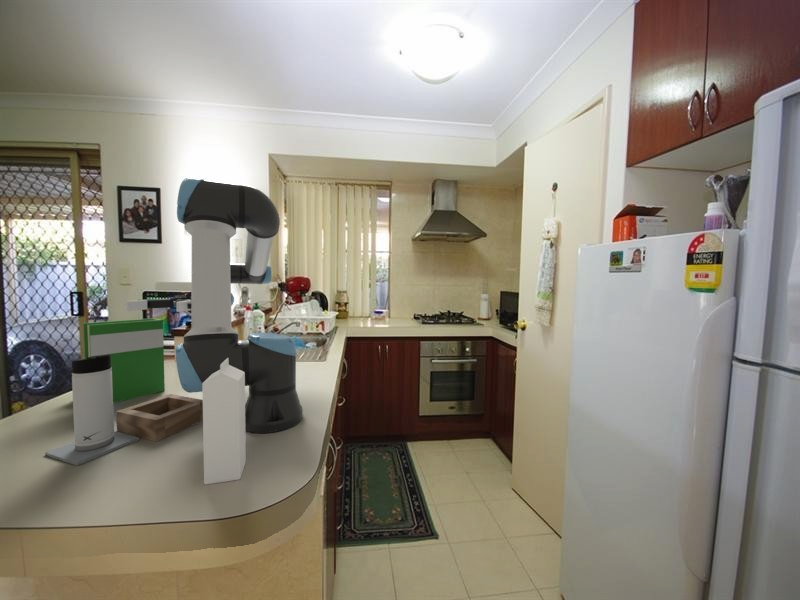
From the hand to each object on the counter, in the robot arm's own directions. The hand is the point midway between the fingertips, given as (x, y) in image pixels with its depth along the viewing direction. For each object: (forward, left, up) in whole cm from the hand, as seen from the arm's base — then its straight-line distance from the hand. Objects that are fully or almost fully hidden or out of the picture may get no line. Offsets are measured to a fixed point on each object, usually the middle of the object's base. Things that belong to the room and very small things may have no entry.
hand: (152, 306), depth 85 cm
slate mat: (-5, +16, -30) cm, 34 cm away
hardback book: (+24, -7, -30) cm, 39 cm away
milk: (-40, +13, -30) cm, 52 cm away
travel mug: (-5, +16, -30) cm, 34 cm away
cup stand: (-8, +3, -30) cm, 31 cm away
